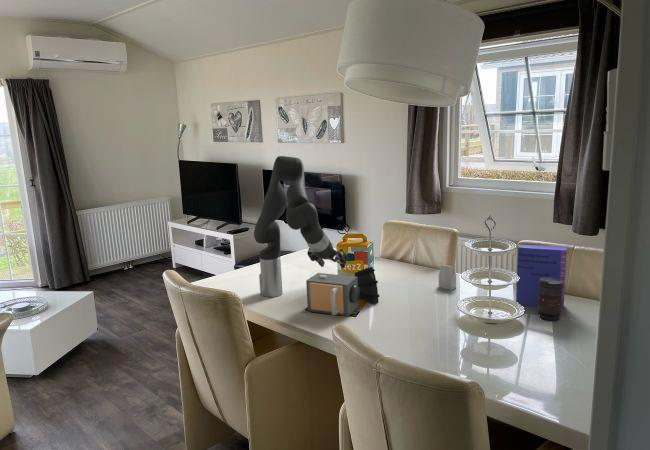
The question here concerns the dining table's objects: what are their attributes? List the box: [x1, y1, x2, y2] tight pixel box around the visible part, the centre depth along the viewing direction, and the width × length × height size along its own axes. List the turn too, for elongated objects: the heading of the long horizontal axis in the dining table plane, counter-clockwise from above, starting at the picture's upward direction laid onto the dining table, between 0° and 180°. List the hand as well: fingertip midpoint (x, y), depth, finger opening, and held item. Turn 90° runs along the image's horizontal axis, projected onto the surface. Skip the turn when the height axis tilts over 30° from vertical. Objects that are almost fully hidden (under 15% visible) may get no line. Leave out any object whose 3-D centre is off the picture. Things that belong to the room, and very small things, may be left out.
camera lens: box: [537, 277, 563, 323], centre depth 189 cm, size 8×8×15 cm
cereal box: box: [515, 244, 568, 310], centre depth 202 cm, size 17×5×24 cm, turn 65°
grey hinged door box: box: [305, 272, 360, 317], centre depth 208 cm, size 20×11×14 cm, turn 65°
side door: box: [308, 282, 344, 316], centre depth 201 cm, size 15×5×11 cm, turn 65°
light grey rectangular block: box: [438, 264, 457, 291], centre depth 229 cm, size 4×7×10 cm, turn 41°
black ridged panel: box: [353, 266, 380, 305], centre depth 218 cm, size 4×13×15 cm, turn 31°
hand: (333, 265), depth 193 cm, fingers open, 8 cm apart
